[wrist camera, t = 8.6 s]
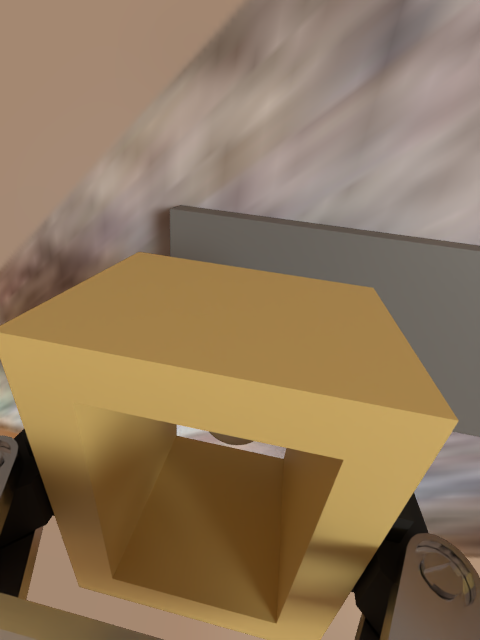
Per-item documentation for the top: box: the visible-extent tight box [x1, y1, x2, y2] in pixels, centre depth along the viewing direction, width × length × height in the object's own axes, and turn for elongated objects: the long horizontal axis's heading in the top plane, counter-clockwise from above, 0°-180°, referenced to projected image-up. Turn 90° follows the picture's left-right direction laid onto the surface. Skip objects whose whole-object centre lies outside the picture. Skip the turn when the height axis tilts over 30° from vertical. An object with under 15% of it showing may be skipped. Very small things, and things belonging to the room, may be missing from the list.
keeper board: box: [170, 205, 480, 445], centre depth 12 cm, size 24×10×9 cm, turn 84°
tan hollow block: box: [0, 252, 459, 640], centre depth 9 cm, size 7×9×5 cm
